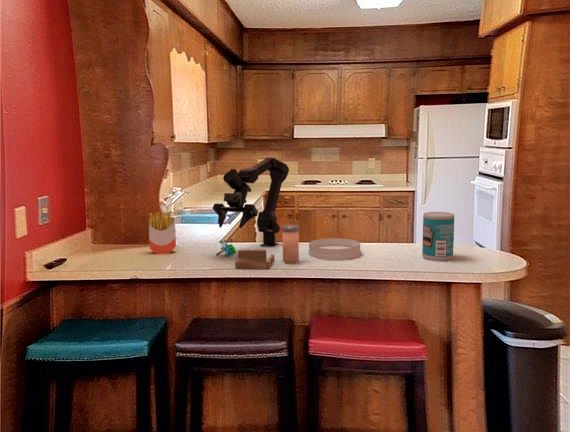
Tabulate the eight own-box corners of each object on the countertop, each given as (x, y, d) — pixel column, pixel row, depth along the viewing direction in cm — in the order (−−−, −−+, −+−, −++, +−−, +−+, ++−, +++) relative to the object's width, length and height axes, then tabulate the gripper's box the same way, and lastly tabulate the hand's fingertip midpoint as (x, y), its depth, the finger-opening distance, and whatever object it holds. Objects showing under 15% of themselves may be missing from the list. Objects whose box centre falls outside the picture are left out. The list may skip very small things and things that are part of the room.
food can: (455, 255, 214) (456, 212, 211) (450, 262, 204) (451, 217, 201) (425, 253, 220) (426, 211, 217) (419, 259, 209) (420, 215, 206)
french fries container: (174, 253, 228) (172, 212, 225) (149, 254, 228) (147, 213, 225) (176, 251, 233) (174, 211, 230) (151, 251, 232) (149, 212, 229)
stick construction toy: (229, 253, 217) (220, 237, 219) (216, 262, 218) (208, 246, 221) (241, 255, 228) (233, 240, 230) (228, 263, 230) (220, 248, 232)
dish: (334, 264, 206) (334, 251, 205) (297, 254, 223) (297, 243, 222) (371, 255, 220) (371, 243, 219) (334, 246, 237) (334, 236, 236)
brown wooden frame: (242, 260, 214) (242, 243, 213) (274, 260, 212) (273, 243, 211) (235, 268, 201) (234, 250, 200) (269, 269, 199) (268, 251, 198)
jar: (285, 259, 214) (284, 224, 212) (301, 260, 212) (300, 225, 210) (280, 263, 208) (279, 227, 205) (296, 264, 206) (296, 228, 203)
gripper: (212, 184, 217) (201, 216, 209) (252, 184, 209) (242, 218, 202) (223, 199, 226) (213, 230, 218) (262, 199, 218) (253, 232, 211)
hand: (229, 227), depth 212 cm, fingers open, 9 cm apart
